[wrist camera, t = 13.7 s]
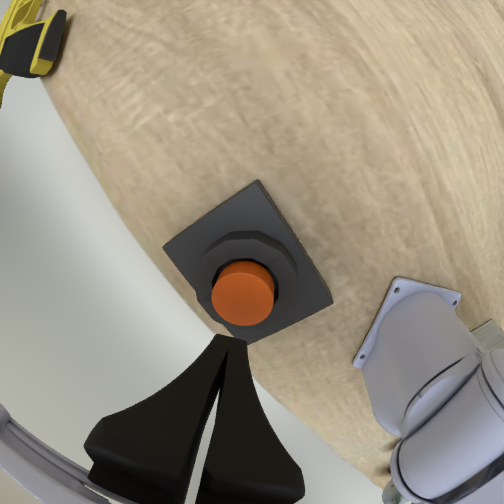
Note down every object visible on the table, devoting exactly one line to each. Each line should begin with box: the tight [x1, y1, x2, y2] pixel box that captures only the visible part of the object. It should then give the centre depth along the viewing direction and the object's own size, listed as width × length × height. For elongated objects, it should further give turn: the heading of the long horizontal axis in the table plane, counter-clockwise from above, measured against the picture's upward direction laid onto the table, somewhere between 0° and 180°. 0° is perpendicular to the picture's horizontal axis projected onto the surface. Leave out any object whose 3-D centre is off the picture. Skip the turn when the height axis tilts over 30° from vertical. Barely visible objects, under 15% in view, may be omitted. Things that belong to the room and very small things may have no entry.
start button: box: [212, 261, 274, 326], centre depth 16 cm, size 4×4×2 cm
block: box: [162, 180, 334, 345], centre depth 18 cm, size 10×8×4 cm
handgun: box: [0, 0, 67, 108], centre depth 10 cm, size 4×26×15 cm
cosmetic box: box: [471, 320, 504, 352], centre depth 15 cm, size 6×4×12 cm
